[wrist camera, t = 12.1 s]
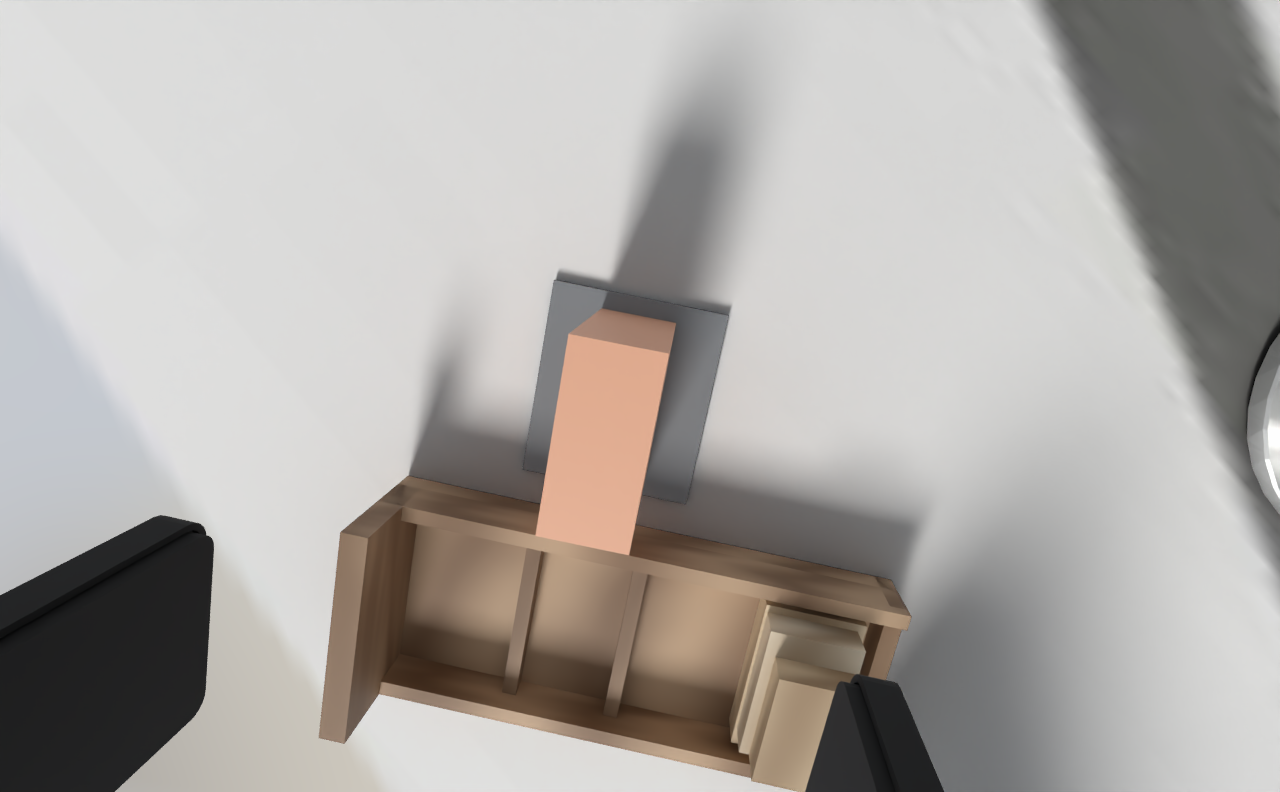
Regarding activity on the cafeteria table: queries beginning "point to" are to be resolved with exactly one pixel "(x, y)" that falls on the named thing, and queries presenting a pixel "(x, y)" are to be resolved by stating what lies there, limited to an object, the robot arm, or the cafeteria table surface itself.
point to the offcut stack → (791, 688)
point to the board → (604, 429)
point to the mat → (681, 391)
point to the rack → (565, 623)
